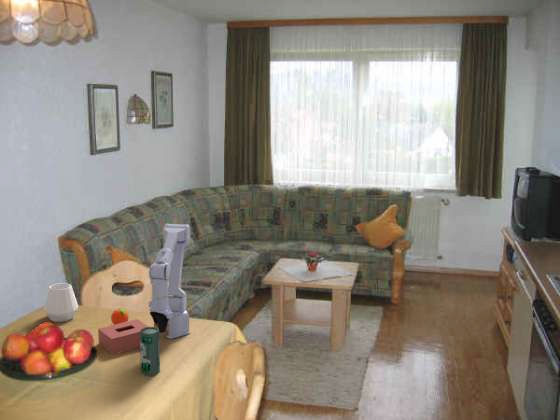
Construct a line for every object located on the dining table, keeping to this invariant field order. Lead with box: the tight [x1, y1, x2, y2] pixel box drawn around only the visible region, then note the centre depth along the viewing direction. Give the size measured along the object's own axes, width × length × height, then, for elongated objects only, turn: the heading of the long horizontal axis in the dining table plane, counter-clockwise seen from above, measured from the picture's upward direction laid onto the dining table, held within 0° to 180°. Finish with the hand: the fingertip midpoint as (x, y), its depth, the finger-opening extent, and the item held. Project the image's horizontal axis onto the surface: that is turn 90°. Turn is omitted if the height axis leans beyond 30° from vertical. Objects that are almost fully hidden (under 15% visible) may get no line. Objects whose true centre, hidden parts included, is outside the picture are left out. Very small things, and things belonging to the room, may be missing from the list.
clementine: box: [110, 308, 130, 325], centre depth 231 cm, size 8×7×7 cm
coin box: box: [97, 318, 149, 355], centre depth 214 cm, size 16×12×6 cm
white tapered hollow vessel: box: [43, 282, 79, 323], centre depth 237 cm, size 13×13×14 cm
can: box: [139, 326, 161, 377], centre depth 192 cm, size 6×6×15 cm
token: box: [153, 323, 169, 339], centre depth 207 cm, size 5×2×5 cm, turn 130°
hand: (160, 330), depth 206 cm, fingers closed on token, 2 cm apart
